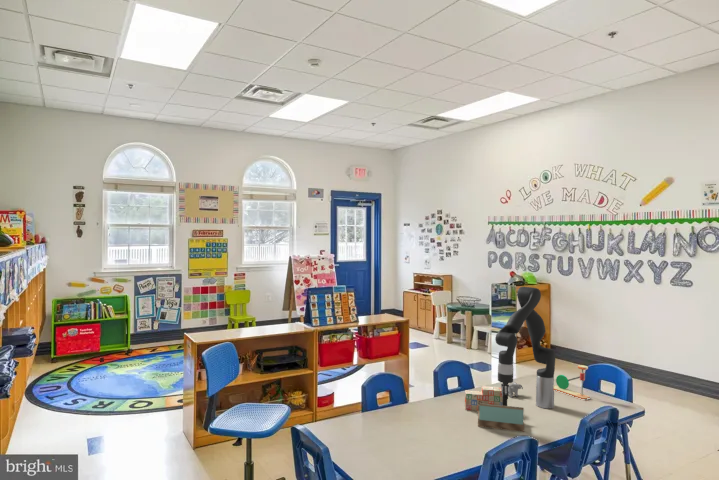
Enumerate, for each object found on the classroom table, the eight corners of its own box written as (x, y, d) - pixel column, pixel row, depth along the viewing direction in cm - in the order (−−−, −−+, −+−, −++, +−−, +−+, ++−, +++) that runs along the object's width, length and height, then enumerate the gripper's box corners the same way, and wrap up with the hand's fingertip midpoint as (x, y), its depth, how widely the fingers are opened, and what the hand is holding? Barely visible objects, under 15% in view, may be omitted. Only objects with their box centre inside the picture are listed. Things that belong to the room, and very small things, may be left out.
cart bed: (521, 422, 241) (521, 410, 241) (523, 431, 229) (524, 418, 229) (478, 417, 246) (478, 405, 246) (478, 426, 235) (478, 413, 235)
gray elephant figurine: (501, 395, 284) (501, 382, 284) (512, 390, 291) (512, 378, 291) (514, 399, 277) (514, 387, 276) (525, 394, 284) (525, 382, 284)
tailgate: (523, 423, 229) (523, 407, 229) (523, 424, 228) (523, 408, 228) (479, 418, 235) (479, 403, 235) (479, 419, 233) (479, 403, 233)
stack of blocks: (465, 410, 257) (465, 388, 257) (464, 406, 263) (465, 384, 263) (505, 413, 254) (505, 391, 254) (503, 409, 260) (504, 387, 260)
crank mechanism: (590, 399, 280) (591, 367, 280) (584, 400, 276) (585, 368, 276) (554, 387, 301) (555, 357, 301) (548, 388, 298) (548, 358, 298)
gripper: (514, 376, 228) (513, 411, 228) (512, 369, 240) (511, 402, 241) (498, 374, 229) (497, 409, 230) (497, 367, 242) (496, 400, 242)
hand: (504, 406), depth 235 cm, fingers closed
